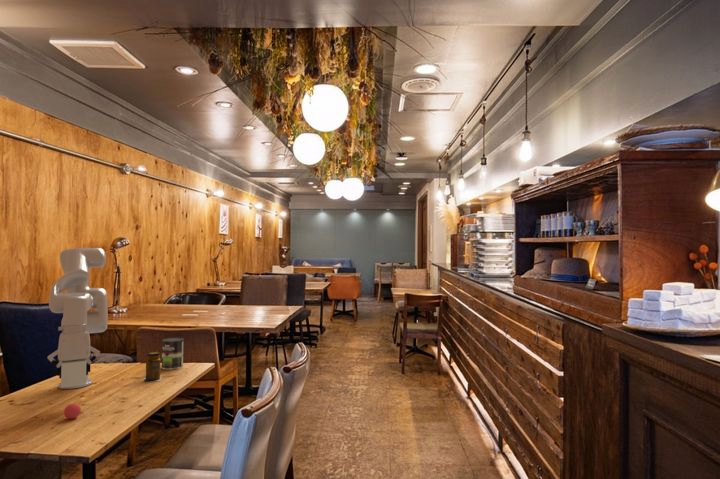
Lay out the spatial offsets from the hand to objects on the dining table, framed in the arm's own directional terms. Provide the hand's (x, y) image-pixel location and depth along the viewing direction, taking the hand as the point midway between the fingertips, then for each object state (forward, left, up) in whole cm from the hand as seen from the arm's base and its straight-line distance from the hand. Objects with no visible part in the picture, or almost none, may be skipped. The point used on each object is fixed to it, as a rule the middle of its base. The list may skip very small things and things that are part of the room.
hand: (74, 375), depth 167 cm
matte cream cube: (0, 0, -3) cm, 3 cm away
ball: (+12, 0, -10) cm, 15 cm away
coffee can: (-45, +41, -12) cm, 63 cm away
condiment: (-26, +30, -13) cm, 42 cm away
